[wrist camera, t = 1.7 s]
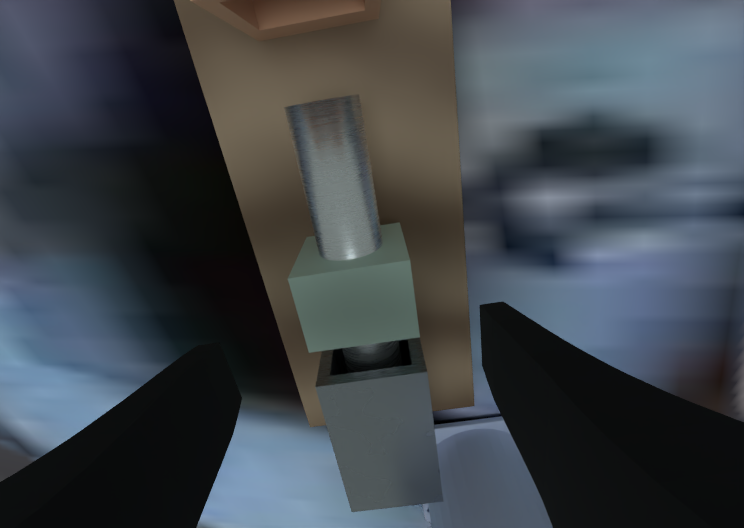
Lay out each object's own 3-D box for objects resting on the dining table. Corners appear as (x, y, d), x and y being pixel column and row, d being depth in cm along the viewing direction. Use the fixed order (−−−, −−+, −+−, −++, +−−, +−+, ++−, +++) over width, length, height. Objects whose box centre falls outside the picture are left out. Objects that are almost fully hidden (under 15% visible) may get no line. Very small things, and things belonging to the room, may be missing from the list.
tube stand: (470, 393, 22) (510, 505, 16) (312, 414, 23) (291, 530, 17) (435, -144, 12) (505, -397, 6) (158, -85, 13) (-38, -262, 7)
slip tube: (425, 413, 19) (439, 485, 16) (353, 423, 20) (350, 495, 16) (382, 92, 13) (388, 87, 9) (275, 111, 13) (240, 113, 10)
